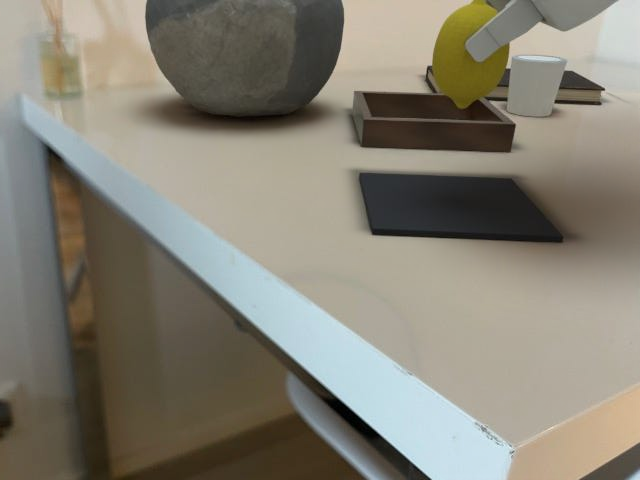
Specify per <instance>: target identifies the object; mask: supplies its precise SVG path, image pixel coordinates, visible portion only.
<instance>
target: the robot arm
mask: <svg viewBox="0 0 640 480" xmlns="http://www.w3.org/2000/svg"><path fill="white" fill-rule="evenodd" d="M485 2H486V4H487V5H489V6H491V7H493V8H494V9H496V10H497V11H498V12H499V13H498V14H497V15H496V16H495V17H493V18H492V19H491V20H490V21H489V22H487V23H486V24H485V25H484V26H483V25H481V26H480V27H479V28H478V29H477V30H475V31H474V32H473V33H472V34H471V35H470V36H469V37H467V38H466V39H465V41H464V47H465V48H466V50H467V51H468V52H469V54H470V55H471V56H472V57H473V59H474V60H475V61H477V62H482V61H484V60H485V59H487V58H488V57H489V56H490V55H491V54H493V53H494V52H495V51H496V50H498V49H499V48H500V47H502V46H504V45H506V44H507V43H509V42H510V43H511V42H512V41H514V40H516V39H517V38H520V37H521V36H524V34H527V33H528V32H529V31H531V29H533V28H534V27H535V26H536V25H538V24H539V23H541V24H543V25H546V26H549V27H551V28H553V29H555V30H558V31H560V32H568V31H571V30H572V29H575V28H577V27H579V26H581V25H583V24H585V23H587V22H589V21H591V20H593V19H594V18H595V17H597V16H598V15H600V14H602V13H603V12H604V11H606V10H608V9H609V8H610V7H611V6H613V5H615V4H616V3H617V2H619V0H485Z"/></svg>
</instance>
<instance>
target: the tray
mask: <svg viewBox="0 0 640 480" xmlns="http://www.w3.org/2000/svg"><path fill="white" fill-rule="evenodd" d="M351 114H352V119H353V122H354V125H355V129H356V133H357V136H358V141H359V143H360V147H362V148H385V149H386V148H387V149H413V150H414V149H416V150H417V149H418V150H442V151H444V150H445V151H473V152H497V153H498V152H502V153H511V152H512V147H513V144H514V143H513V142H514V137H515V132H516V127H517V123H515V122H514V121H513V120H512V119H511V118H509V117H508V116H507V115H506V114H504V112H502V111H501V110H500V109H499V108H497V107H496V106H495V105H494V104H493V103H492V102H490V100H486V99H485V98H484V97H483V98H480V99H478V100H475V101H473V102H472V103H471V104H470V105H469V106H468V107H467V108H463V109H461V108H458V107H457V106H456V104H455V103H454V101H453V100H452V99H451V98H450V97H448V96H446V95H445V94H441V93H434V92H405V91H375V90H373V91H372V90H354V91H353V98H352V112H351Z"/></svg>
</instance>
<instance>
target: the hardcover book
mask: <svg viewBox="0 0 640 480" xmlns="http://www.w3.org/2000/svg"><path fill="white" fill-rule="evenodd" d="M510 71H511V67H510V68H509V67H508V68H507V67H506V69H505V72H504V74H503V76H502V78H501V80H500V82H499V84H498V85H497V86H496V87H495V89H494V90H493V91H492V92H490V93H489V94H488V95H486V96H485V97H484V98H485V99H486V100H488V101H497V102H499V101H500V102H501V101H502V102H508V92H509V81H510ZM425 81H426V82H427V84H428V86H429V87H430V89H431V91H432V93H441V94H444V93H443V92H442V91H441V90H440V89H439V88H438V86H437V84H436V82H435V79H434V76H433V69H432V65H429V64H428V65H427V66H426V71H425ZM605 91H606V88H605V87H604V86H601V85H599V84H598V83H596V82H594V81H592V80H590V79H588V78H587V77H585V76H583V75H581V74H579V73H577V72H576V71H574V70H566V69H565V70H564V73H563V76H562V80H561V83H560V86H559V89H558V92H557V95H556V99H555V102H554V104H568V105H569V104H570V105H596V106H598V105H599V106H601V105H602V104H603V102H601V101H600V100H601V98H602V92H605Z"/></svg>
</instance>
